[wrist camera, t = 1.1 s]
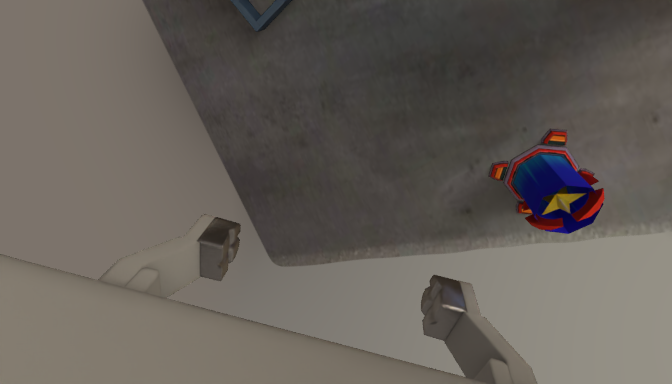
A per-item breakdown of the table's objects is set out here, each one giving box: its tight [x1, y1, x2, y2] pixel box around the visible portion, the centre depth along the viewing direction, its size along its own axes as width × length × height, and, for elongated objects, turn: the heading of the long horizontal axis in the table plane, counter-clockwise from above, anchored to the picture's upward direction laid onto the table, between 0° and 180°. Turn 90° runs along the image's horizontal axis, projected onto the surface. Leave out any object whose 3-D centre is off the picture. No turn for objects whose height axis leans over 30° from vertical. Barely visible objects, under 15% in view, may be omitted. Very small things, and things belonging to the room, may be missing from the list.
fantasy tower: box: [489, 129, 604, 234], centre depth 45 cm, size 12×12×12 cm
